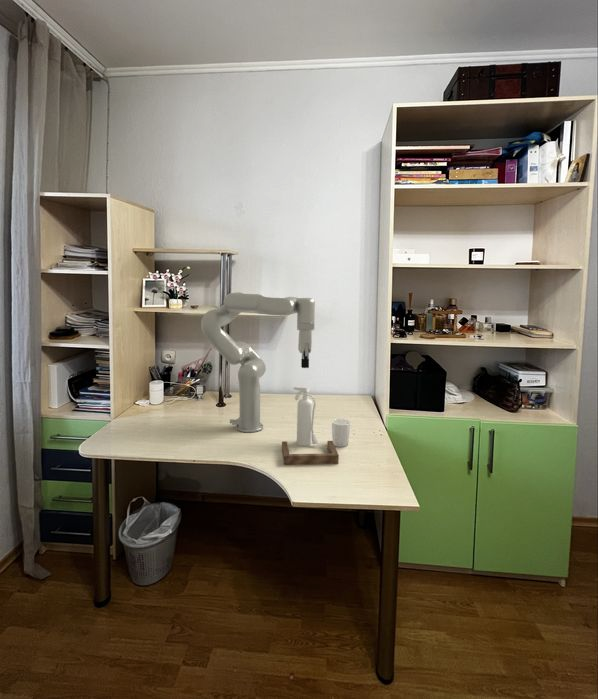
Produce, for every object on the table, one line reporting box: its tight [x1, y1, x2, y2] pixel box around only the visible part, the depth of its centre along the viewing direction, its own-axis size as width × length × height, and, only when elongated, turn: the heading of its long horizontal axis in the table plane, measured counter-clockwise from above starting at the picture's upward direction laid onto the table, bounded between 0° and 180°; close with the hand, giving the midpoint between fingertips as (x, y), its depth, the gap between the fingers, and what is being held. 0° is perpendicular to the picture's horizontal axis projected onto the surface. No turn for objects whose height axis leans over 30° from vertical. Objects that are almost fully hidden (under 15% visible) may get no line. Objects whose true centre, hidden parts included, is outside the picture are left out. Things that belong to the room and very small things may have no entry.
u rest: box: [281, 440, 340, 466], centre depth 184 cm, size 21×15×4 cm
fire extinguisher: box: [293, 385, 319, 447], centre depth 195 cm, size 7×12×25 cm, turn 51°
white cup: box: [331, 418, 351, 448], centre depth 197 cm, size 8×8×10 cm
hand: (305, 367), depth 203 cm, fingers closed
